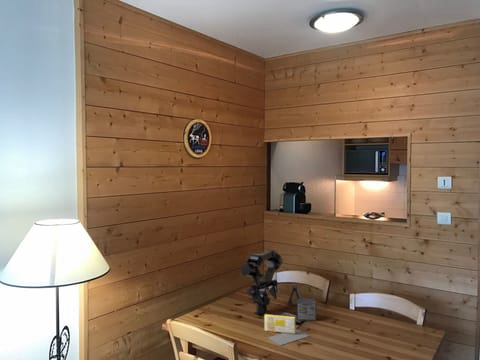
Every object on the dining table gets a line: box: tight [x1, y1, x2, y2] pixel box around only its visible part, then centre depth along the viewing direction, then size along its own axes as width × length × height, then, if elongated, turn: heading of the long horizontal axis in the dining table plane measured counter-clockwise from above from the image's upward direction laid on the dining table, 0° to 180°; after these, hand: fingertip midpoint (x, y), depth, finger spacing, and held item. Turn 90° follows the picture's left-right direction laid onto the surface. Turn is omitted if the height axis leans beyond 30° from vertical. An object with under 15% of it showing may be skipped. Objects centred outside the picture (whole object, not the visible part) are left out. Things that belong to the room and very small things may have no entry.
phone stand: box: [287, 283, 303, 306], centre depth 241 cm, size 9×6×12 cm, turn 72°
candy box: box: [263, 314, 296, 334], centre depth 199 cm, size 16×2×8 cm, turn 71°
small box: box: [296, 298, 317, 322], centre depth 217 cm, size 11×6×10 cm, turn 84°
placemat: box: [267, 328, 310, 347], centre depth 193 cm, size 10×19×1 cm, turn 123°
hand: (269, 301), depth 207 cm, fingers open, 9 cm apart
